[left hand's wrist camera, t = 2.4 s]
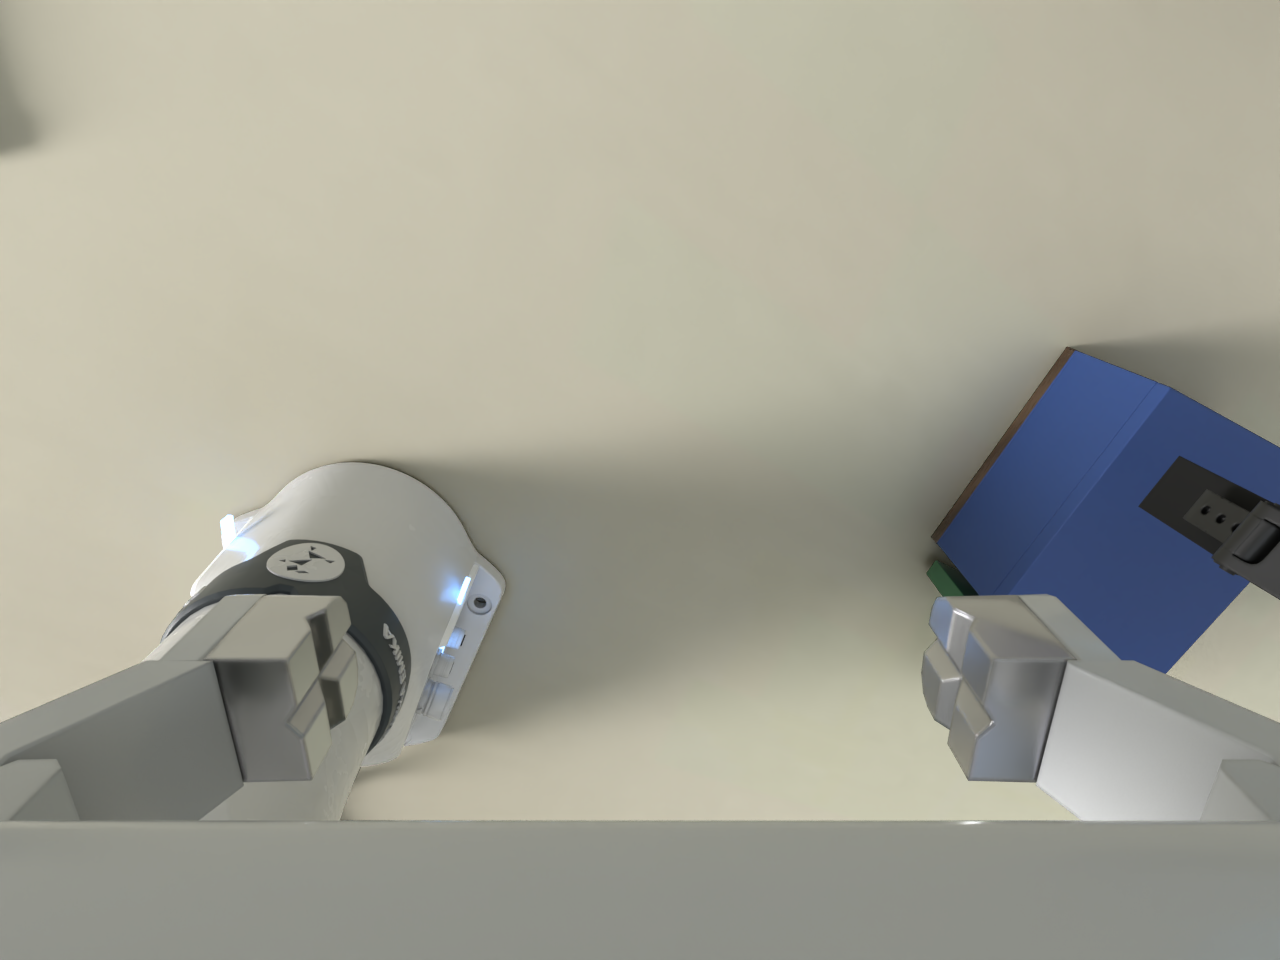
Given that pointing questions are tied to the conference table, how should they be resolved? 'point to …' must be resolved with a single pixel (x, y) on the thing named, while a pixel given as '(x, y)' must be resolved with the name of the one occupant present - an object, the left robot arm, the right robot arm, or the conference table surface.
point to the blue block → (1104, 508)
